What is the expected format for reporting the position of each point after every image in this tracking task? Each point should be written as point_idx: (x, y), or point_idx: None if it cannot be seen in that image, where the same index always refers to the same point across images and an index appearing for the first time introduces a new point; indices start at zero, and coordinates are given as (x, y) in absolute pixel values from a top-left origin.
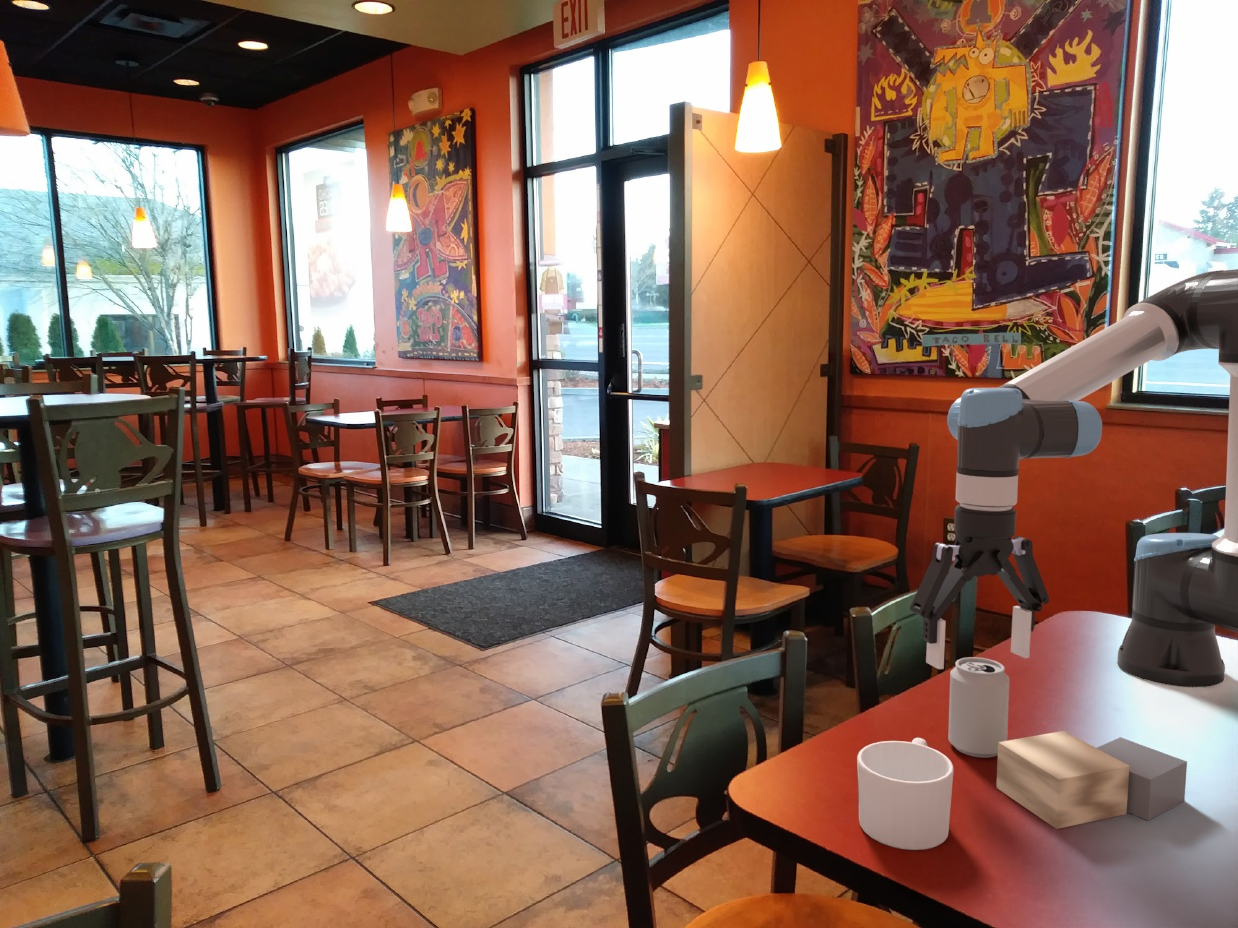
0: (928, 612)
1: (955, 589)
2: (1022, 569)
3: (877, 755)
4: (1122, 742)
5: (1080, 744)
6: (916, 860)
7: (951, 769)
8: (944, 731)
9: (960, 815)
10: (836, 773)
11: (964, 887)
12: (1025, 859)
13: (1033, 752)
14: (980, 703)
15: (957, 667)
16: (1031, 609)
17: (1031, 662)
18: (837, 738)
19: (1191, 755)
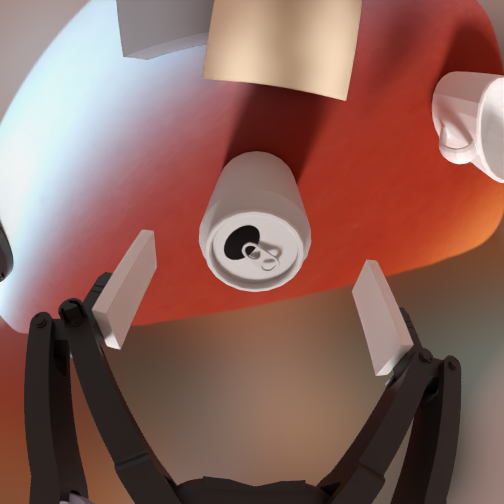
0: (447, 365)
1: (395, 431)
2: (69, 438)
3: (492, 171)
4: (135, 41)
5: (225, 30)
6: None
7: (496, 80)
8: None
9: (410, 85)
10: (433, 218)
11: (478, 32)
12: (414, 5)
13: (325, 47)
14: (291, 190)
15: (299, 267)
16: (86, 317)
17: None
18: None
19: (47, 85)
